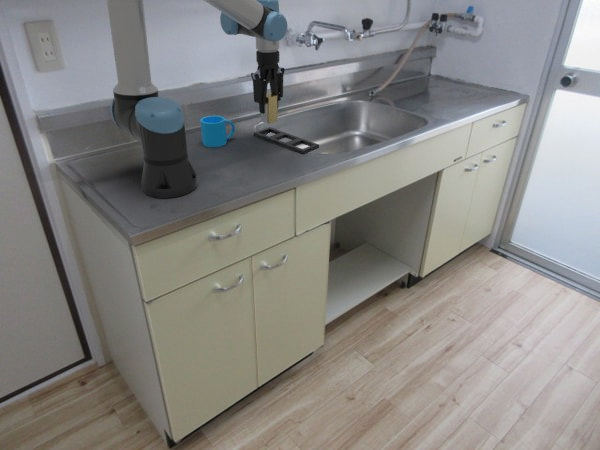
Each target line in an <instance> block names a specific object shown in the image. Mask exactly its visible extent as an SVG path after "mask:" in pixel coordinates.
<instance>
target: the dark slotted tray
mask: <svg viewBox="0 0 600 450" xmlns="http://www.w3.org/2000/svg"><path fill="white" fill-rule="evenodd" d="M268 133H272V134H273V135H269V136H268V135H267V134H268ZM253 137H256V138H258V139H261V140H264V141H266V142H269V143H271V144H275V145H277V146H279V147H282V148H284V149H288V150H290V151H293V152H294V153H295V152H296V153H298V154H300V155H305V154H308V153H310V152H312V151H315V150H317V149H318V150H319V148H320V144H319V143H316V142H313V141H310V140H308V139H305V138H302V137H299V136H296V135H293V134H291V133H288V132H284V131H282V130H279V129H276V128H273V127H266V128H263V129H260V130H257V131H254V132H253ZM284 138H285V139H288V140H289V141H287V142H285V141H282V140H283V139H284ZM300 145H305V146H307V147H305V148H301V147H298V146H300Z"/></svg>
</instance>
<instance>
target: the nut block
mask: <svg viewBox="0 0 600 450" xmlns="http://www.w3.org/2000/svg"><path fill="white" fill-rule="evenodd" d="M266 104H267V110H268V123H267V124H272V123H275V122H278V119H277V114H278V109H277V95H274V94H271V92H267V94H266Z"/></svg>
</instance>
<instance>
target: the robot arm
mask: <svg viewBox="0 0 600 450" xmlns="http://www.w3.org/2000/svg"><path fill="white" fill-rule="evenodd" d="M203 1H204V2H205V3H207V4H209V5H210V6H211V7H213V8H214V9H216V10H218V11H220V12H221V13H220V14H219V15H220V16H219V17H220V18H219V19H220V21H219V22H220V26H221V29H222V30H223V32H224V33H225V34H226V35H229V36H233V35H234V36H237V35H244V36H247V37H248V36H249V37H254V38H255V49H256V52H255V54H256V55H255V57H256V62H257V67H256V71H255V72H251V73H250V77H251V79H252V80H251V81H252V89H253V90H252V91H253V102H254V103H257V104H258V106H259V107H258V108H259V109H258V112H259V113H260V122H262V123H266V124H268V110H267V104H266V94H267V93H268V85H269V88H270V93H271V94H274V95H277V110H279V102H280V101H281V100H282V98H283V97H284V74H285V70H286V68H285V67H281V66H279V63H280V51H279V49H280V41H281V40H283V39H284V37H285V36H286V34H287V31H288V21H287V18H286V16H285V15H284V14H282V13H281V12H280V4H279V0H203ZM106 5H107V11H108V12H107V13H108V20H109V27H110V32H111V40H112V41H111V42H112V48H113V57H114V62H115V70H116V77H117V84H116V85H115V86H114V87H113V89H112V92H113V99H112V100H111V103H110V110H109V111H110V116H111V117H110V118H111V120H112V121H113V123H114V124H115V125H116V126H117V128H118V129H119V130H120V131H121V132H123V133H125V134H126V135H128V136H130V137H131V138H134V139H135V140H137V141H138V142H139V143H140V145H141V152H142V156H143V157H142V158H143V163H144V164H143V168H142V173H141V178H140V179H141V180H140V185H141V189H142V192H143V193H144V194H145V195H147V196H149V197H153V198H157V199H158V198H159V199H160V198H161V199H172V198H177V197H181V196H184V195H187V194H190V193H192V192H193V191H195V189H196V188H197V187H198V184H199V181H198V176H197V172H196V170H195V169H194V167H193V165H192V163H191V160H190V158H189V152H188V145H187V144H188V143H187V134H186V127H185V115H184V113H183V108H182V107H181V105H180V104H179V103H178V102H177V101H175V100H174V99H171V98H167V97H166V98H165V97H161V96H160V95H159V89H158V87H157V86H156V85H155V84H154V83H153V82H152V76H151V68H150V55H149V54H150V53H149V45H148V36H147V26H146V17H145V8H144V6H145V5H144V0H106ZM278 119H279V118H278V113H277V120H278Z"/></svg>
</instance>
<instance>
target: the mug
mask: <svg viewBox="0 0 600 450" xmlns="http://www.w3.org/2000/svg"><path fill="white" fill-rule="evenodd" d="M199 122H200V131H201V141H202V145H203V146H205V147H208V148H219V147H220V148H221V147H223V146H225V145H226V144H227V140H229V139H230V138H231V137H232V136H233V135H234V133H235V132H236V126H235V123H233V122H232V121H231V120H230V119H226V118H225V117H223V116H220V115H208V116H205V117H201V119H200V121H199ZM226 123H229V124H230V125H231V128H232V129H231V131H230V133H229V134H228V135H227V128H226V127H227V126H226Z"/></svg>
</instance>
